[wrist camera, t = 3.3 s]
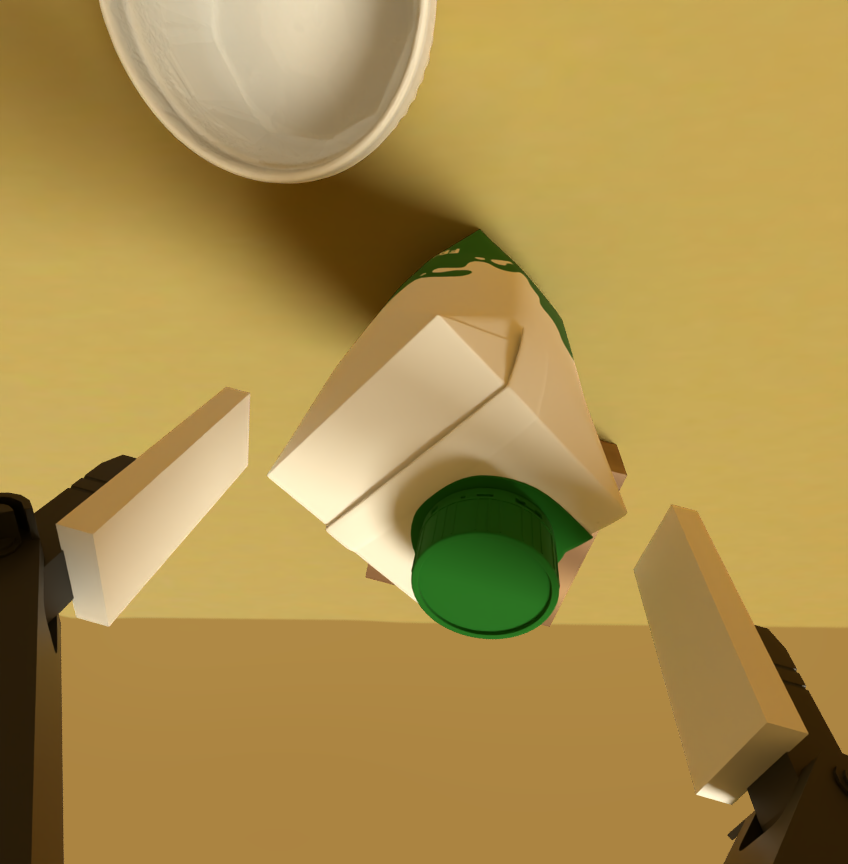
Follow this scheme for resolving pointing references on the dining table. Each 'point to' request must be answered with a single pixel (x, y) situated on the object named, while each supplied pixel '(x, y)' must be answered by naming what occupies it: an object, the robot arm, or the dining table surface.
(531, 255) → the dining table surface
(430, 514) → the soya milk
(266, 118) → the ramekin
